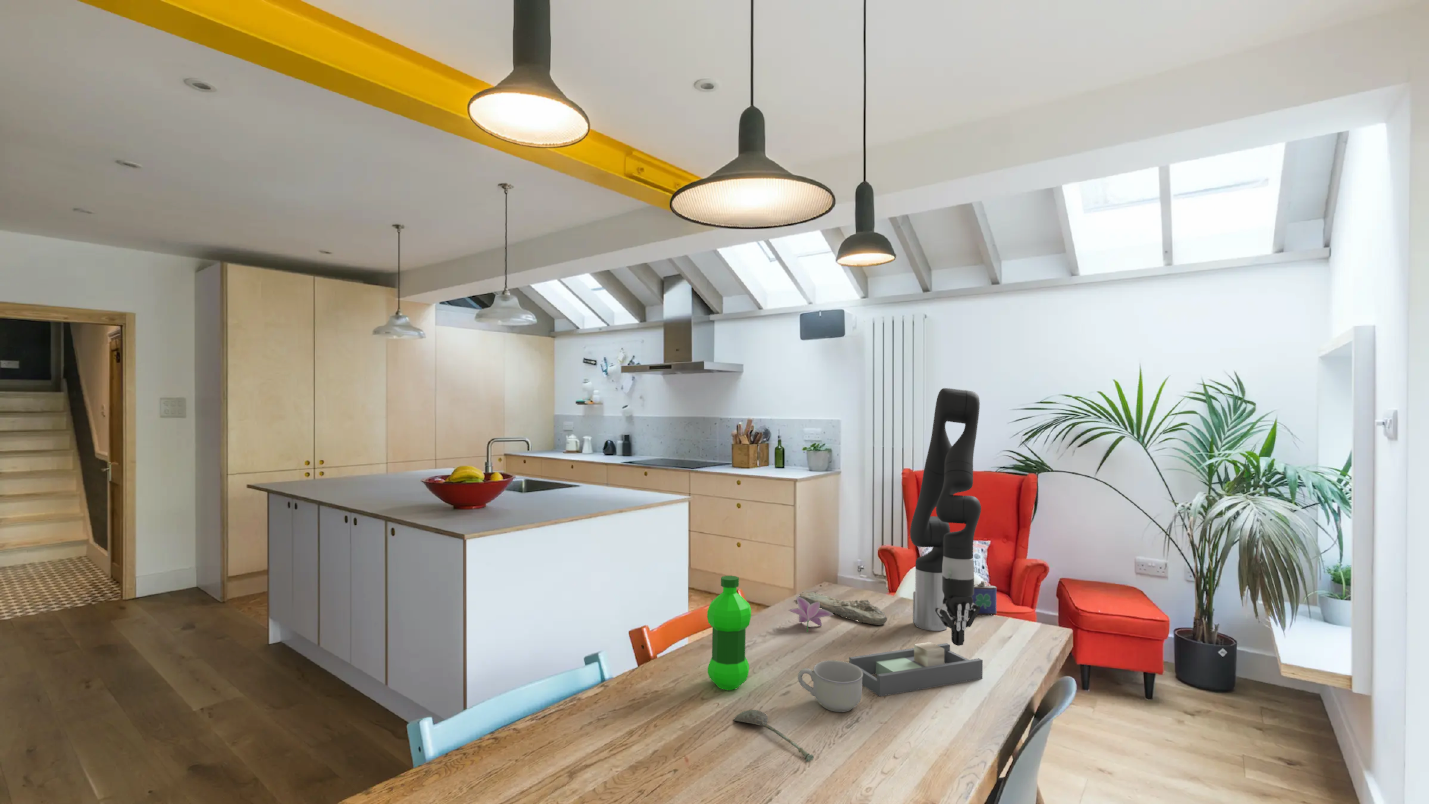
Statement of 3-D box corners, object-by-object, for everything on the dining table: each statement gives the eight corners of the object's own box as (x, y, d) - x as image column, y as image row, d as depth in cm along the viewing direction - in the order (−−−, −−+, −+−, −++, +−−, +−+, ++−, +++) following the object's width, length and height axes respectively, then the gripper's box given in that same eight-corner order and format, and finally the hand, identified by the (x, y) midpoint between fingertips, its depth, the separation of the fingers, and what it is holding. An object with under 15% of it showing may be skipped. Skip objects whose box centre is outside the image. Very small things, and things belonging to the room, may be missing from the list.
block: (914, 660, 163) (914, 644, 163) (930, 658, 165) (930, 641, 165) (927, 667, 158) (927, 651, 158) (944, 665, 160) (944, 648, 160)
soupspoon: (753, 716, 140) (728, 725, 137) (752, 700, 140) (727, 708, 137) (823, 758, 122) (796, 770, 118) (822, 740, 122) (795, 751, 118)
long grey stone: (811, 601, 229) (791, 607, 223) (810, 586, 229) (790, 592, 223) (895, 621, 202) (875, 629, 196) (894, 604, 202) (874, 612, 196)
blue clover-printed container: (994, 612, 214) (995, 580, 214) (998, 615, 211) (998, 582, 211) (966, 612, 215) (966, 579, 215) (969, 614, 212) (969, 581, 212)
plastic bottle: (759, 685, 154) (760, 577, 154) (729, 698, 146) (731, 586, 146) (727, 673, 160) (729, 570, 161) (697, 685, 153) (698, 577, 153)
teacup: (865, 700, 147) (865, 664, 147) (859, 721, 136) (859, 682, 137) (803, 690, 151) (804, 655, 151) (793, 710, 141) (794, 672, 141)
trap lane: (848, 675, 160) (849, 657, 160) (946, 660, 171) (946, 643, 171) (879, 696, 148) (880, 676, 149) (982, 678, 160) (982, 660, 160)
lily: (837, 636, 192) (837, 603, 197) (813, 627, 185) (813, 593, 190) (805, 639, 199) (805, 607, 204) (780, 631, 192) (781, 598, 197)
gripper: (967, 569, 171) (967, 637, 170) (926, 573, 166) (926, 642, 165) (989, 576, 164) (989, 646, 163) (947, 580, 159) (947, 652, 158)
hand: (957, 644), depth 164 cm, fingers closed
